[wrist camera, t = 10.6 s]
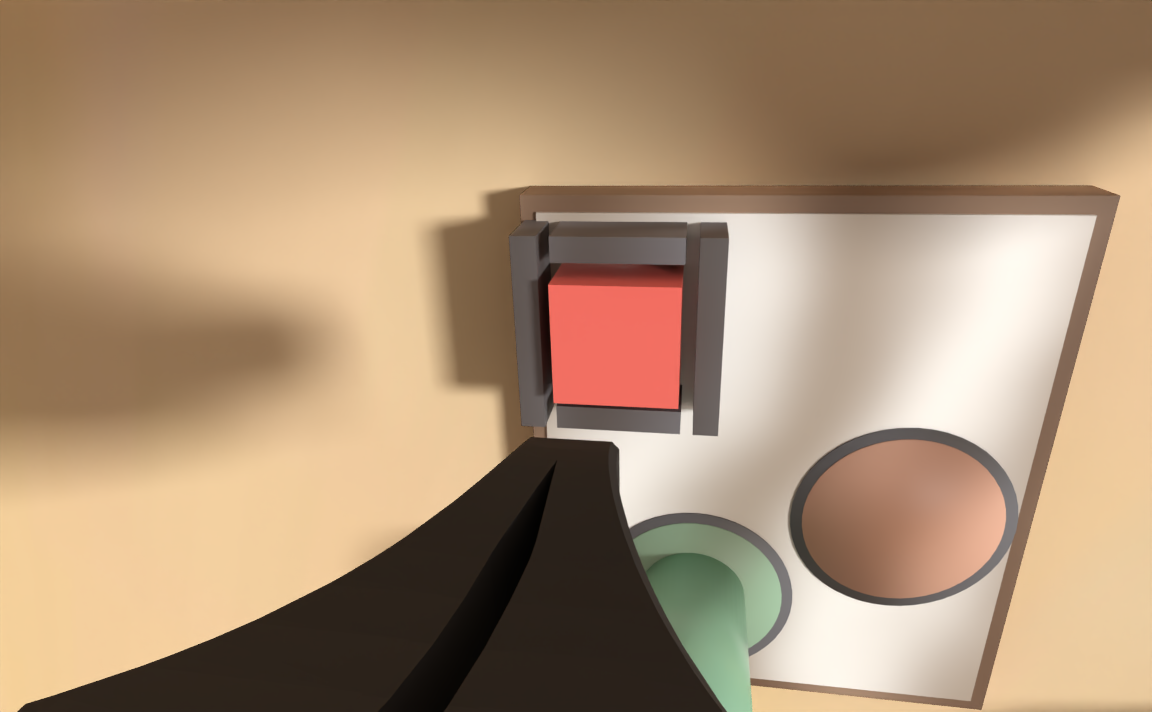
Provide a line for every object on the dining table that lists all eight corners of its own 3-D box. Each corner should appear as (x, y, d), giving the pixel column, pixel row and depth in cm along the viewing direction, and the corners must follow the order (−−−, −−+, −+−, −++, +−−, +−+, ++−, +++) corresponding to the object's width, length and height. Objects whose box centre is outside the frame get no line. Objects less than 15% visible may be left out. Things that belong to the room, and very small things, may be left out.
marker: (752, 555, 20) (773, 794, 14) (744, 642, 21) (759, 898, 15) (636, 545, 20) (605, 770, 14) (636, 630, 22) (606, 873, 15)
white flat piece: (1092, 185, 16) (1164, 212, 14) (967, 677, 22) (1002, 759, 20) (530, 186, 18) (502, 209, 16) (554, 635, 24) (537, 704, 22)
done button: (683, 263, 17) (682, 287, 15) (680, 375, 18) (677, 408, 16) (562, 262, 17) (548, 284, 16) (566, 371, 18) (553, 403, 17)
